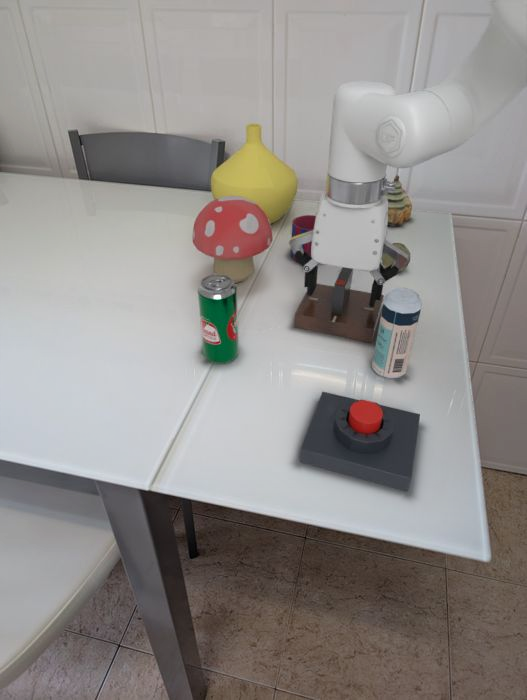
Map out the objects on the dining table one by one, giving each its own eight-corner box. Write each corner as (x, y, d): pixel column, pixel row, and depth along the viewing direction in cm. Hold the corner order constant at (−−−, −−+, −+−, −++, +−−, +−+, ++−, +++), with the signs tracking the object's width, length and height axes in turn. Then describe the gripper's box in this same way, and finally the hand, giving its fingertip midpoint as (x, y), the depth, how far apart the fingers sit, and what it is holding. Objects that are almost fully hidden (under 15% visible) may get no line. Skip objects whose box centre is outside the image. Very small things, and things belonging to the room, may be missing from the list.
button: (382, 415, 57) (385, 404, 56) (377, 437, 54) (380, 426, 53) (351, 408, 58) (353, 397, 57) (345, 429, 55) (347, 418, 54)
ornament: (388, 211, 113) (395, 166, 106) (413, 218, 110) (422, 172, 103) (371, 222, 108) (378, 176, 101) (397, 230, 105) (405, 183, 98)
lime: (411, 270, 91) (416, 245, 88) (391, 277, 89) (396, 251, 86) (394, 260, 94) (399, 236, 91) (375, 266, 92) (378, 242, 89)
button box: (416, 426, 60) (423, 403, 58) (407, 491, 53) (414, 467, 51) (321, 403, 64) (323, 380, 61) (299, 462, 56) (301, 438, 54)
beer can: (411, 366, 69) (428, 292, 62) (398, 385, 66) (416, 310, 59) (378, 354, 71) (392, 282, 64) (365, 372, 68) (378, 298, 61)
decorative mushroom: (262, 259, 94) (263, 181, 85) (280, 296, 84) (282, 211, 74) (192, 267, 92) (184, 186, 82) (201, 305, 81) (193, 219, 72)
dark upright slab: (339, 293, 80) (343, 264, 76) (349, 295, 79) (353, 266, 76) (331, 313, 75) (334, 283, 72) (341, 315, 75) (345, 285, 72)
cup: (328, 250, 97) (331, 217, 93) (319, 274, 90) (322, 240, 85) (294, 246, 99) (296, 213, 94) (283, 269, 91) (284, 235, 87)
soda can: (197, 352, 72) (189, 280, 64) (226, 339, 74) (222, 268, 67) (216, 370, 69) (210, 296, 61) (245, 356, 71) (244, 284, 64)
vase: (195, 223, 107) (187, 129, 95) (242, 196, 119) (240, 110, 107) (268, 243, 99) (269, 144, 88) (310, 212, 112) (316, 121, 100)
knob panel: (381, 307, 81) (384, 293, 79) (371, 343, 74) (374, 328, 72) (310, 294, 84) (311, 281, 83) (293, 327, 77) (294, 313, 75)
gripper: (423, 185, 66) (401, 294, 77) (299, 171, 71) (294, 276, 81) (418, 206, 61) (395, 320, 71) (284, 189, 65) (281, 299, 76)
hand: (341, 296), depth 76 cm, fingers open, 9 cm apart
